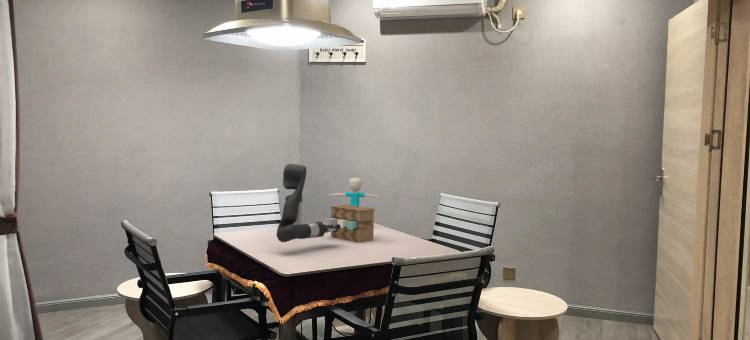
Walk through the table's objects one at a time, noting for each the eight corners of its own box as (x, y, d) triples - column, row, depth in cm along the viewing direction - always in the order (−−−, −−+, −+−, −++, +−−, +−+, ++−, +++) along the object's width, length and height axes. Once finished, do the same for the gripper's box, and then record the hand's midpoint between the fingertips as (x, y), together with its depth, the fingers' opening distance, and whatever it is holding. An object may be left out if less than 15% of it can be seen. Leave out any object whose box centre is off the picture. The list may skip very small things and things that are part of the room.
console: (329, 237, 356) (330, 206, 354) (344, 234, 363) (344, 204, 362) (359, 243, 340) (360, 210, 339) (374, 240, 348) (374, 208, 346)
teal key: (346, 228, 341) (346, 221, 341) (358, 226, 348) (358, 219, 347) (351, 229, 339) (352, 222, 338) (363, 227, 345) (364, 220, 345)
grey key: (324, 225, 349) (324, 218, 349) (336, 224, 355) (336, 217, 355) (329, 226, 346) (329, 219, 346) (341, 224, 353) (341, 217, 352)
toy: (380, 227, 390) (381, 177, 387) (379, 230, 380) (380, 178, 378) (330, 225, 393) (330, 176, 390) (327, 228, 383) (328, 177, 381)
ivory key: (337, 226, 346) (337, 219, 346) (349, 225, 353) (349, 218, 352) (342, 227, 344) (342, 220, 343) (354, 225, 350) (354, 218, 350)
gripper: (322, 223, 317) (348, 220, 330) (304, 220, 326) (330, 217, 339) (322, 239, 318) (348, 235, 330) (304, 235, 327) (330, 232, 339)
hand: (339, 226), depth 335 cm, fingers closed
